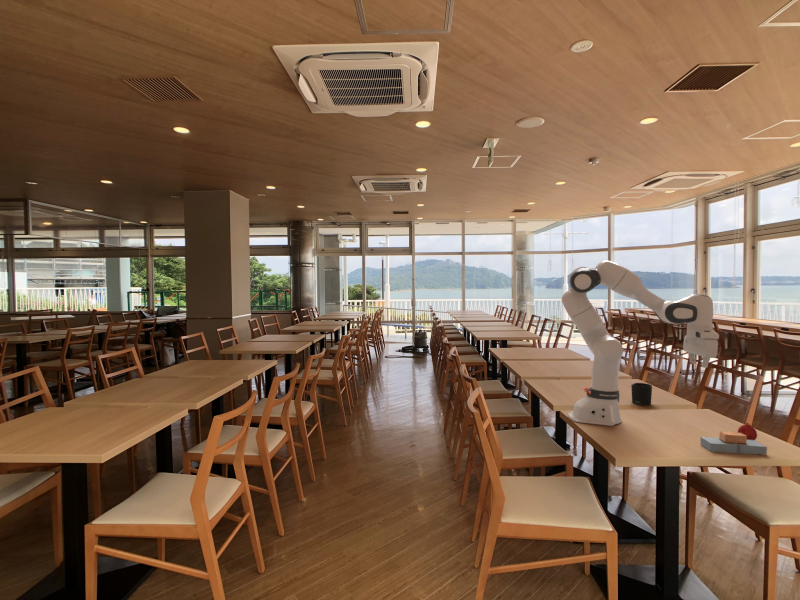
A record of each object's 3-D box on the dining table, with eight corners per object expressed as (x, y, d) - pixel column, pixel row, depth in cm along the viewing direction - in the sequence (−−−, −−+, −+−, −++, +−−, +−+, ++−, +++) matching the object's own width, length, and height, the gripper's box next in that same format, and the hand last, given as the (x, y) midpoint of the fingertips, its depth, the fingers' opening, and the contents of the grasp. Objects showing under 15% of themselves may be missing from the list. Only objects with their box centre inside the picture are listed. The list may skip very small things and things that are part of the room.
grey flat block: (710, 451, 151) (710, 443, 151) (700, 444, 158) (700, 436, 158) (766, 455, 148) (766, 446, 148) (753, 447, 155) (753, 440, 155)
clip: (724, 449, 152) (725, 434, 152) (719, 446, 155) (719, 431, 155) (746, 451, 150) (746, 435, 150) (740, 447, 154) (740, 432, 154)
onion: (737, 439, 164) (737, 419, 164) (756, 442, 160) (756, 422, 160) (737, 443, 159) (737, 422, 159) (757, 446, 156) (757, 425, 156)
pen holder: (627, 401, 222) (627, 382, 222) (645, 401, 222) (645, 382, 222) (637, 405, 213) (637, 386, 212) (655, 405, 212) (656, 386, 212)
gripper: (679, 330, 183) (678, 361, 184) (703, 334, 163) (702, 369, 164) (695, 330, 182) (694, 361, 182) (721, 335, 162) (720, 370, 162)
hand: (698, 365), depth 173 cm, fingers open, 8 cm apart
